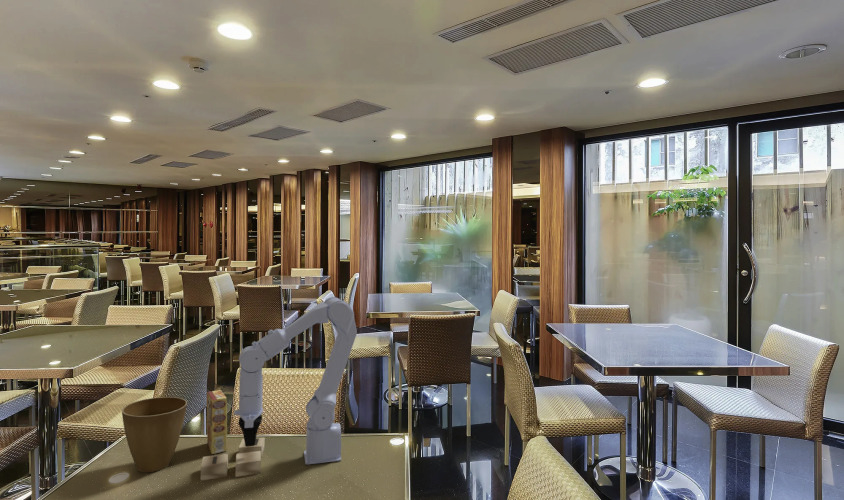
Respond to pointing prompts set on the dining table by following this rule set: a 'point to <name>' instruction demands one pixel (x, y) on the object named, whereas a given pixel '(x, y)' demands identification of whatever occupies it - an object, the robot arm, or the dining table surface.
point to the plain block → (248, 463)
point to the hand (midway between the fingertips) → (250, 445)
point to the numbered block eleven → (257, 447)
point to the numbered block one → (214, 466)
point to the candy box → (216, 421)
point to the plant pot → (153, 430)
